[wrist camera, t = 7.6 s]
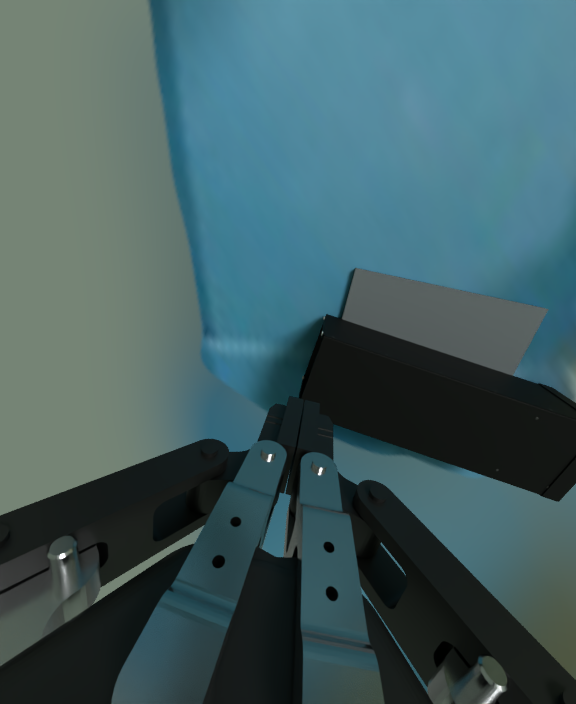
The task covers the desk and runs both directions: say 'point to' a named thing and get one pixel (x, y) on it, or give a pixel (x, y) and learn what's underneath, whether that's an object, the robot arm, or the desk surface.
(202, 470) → the robot arm
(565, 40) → the desk surface
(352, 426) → the black rectangular bar
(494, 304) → the rubber mat
